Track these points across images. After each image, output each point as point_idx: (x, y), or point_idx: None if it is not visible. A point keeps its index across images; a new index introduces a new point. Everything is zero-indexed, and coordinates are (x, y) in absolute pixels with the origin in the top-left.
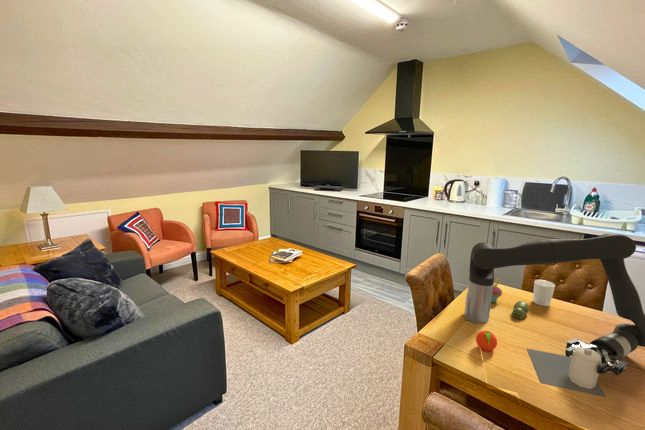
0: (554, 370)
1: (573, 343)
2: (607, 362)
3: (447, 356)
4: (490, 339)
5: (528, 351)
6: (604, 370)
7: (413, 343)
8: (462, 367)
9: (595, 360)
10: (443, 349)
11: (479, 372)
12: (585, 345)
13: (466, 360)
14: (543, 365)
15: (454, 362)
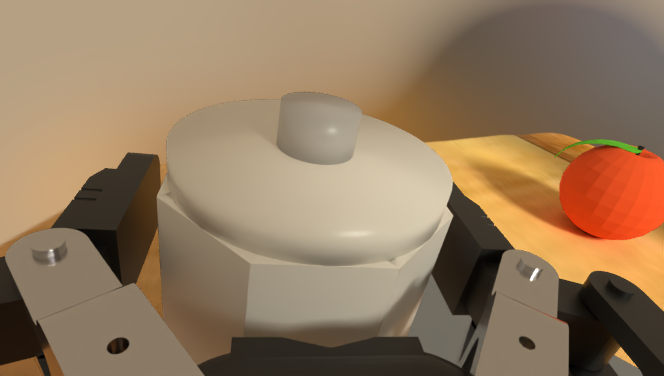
0: (415, 334)
1: (623, 341)
2: (82, 263)
3: (514, 146)
4: (591, 153)
5: (627, 365)
6: (97, 179)
7: (565, 135)
8: (464, 142)
9: (198, 115)
10: (550, 156)
11: (440, 151)
12: (543, 361)
13: (499, 161)
14: (469, 321)
15: (486, 143)
